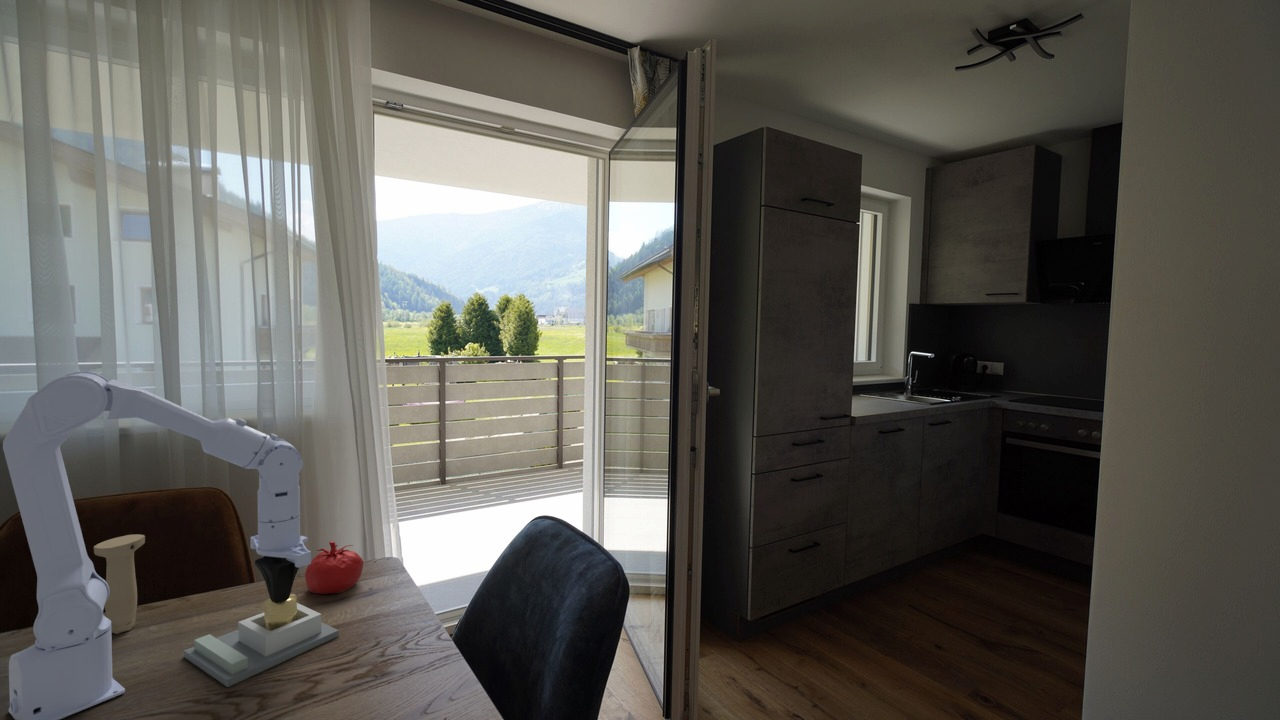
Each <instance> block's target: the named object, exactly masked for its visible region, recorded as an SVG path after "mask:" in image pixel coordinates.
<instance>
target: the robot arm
mask: <svg viewBox="0 0 1280 720" xmlns="http://www.w3.org/2000/svg"><path fill="white" fill-rule="evenodd" d="M104 412H108V415H107V420H118V419H119V420H121V419H134V418H136V419H141V420H144V421H146V422H149V423H152V424H155V425H157V426H159V427H162V428H165V429H167V430H171V431H174V432H177V433H179V434H182V435H185V436H187V437H190V438H192V439H194V440H197V441H199V442H200V444H201V445H200V446H201V448H202V451H203V452H204V453H206V454H208V455H211V456H212V457H213V456H214V457H216V458H218V459H221V460H223V461H226V462H227V463H231V464H234V465H236V466H237V467H238V466H239V467H241V468H244V469H246V470H251V469H252V470H253V469H254V470H255V469H256V470H257V471H258V473H259V474H258V490H257V494H256V495H257V535H254V536H253V535H252V536H250V544H249V545H250V549H251V550H255V552H256V554H258V555H260V556H262V557H260V558H257V559H255V561H254V565H255V566H256V567H257V569H258V571H260V573H261V576H262V577H263V580H264V582H265V585H266V589H267V592H268V596H269V598H270V599H271V601H272V602H274V603H278V602H281V601H284V600H286V599H289V597H290V594H292V593H291V592H292V590H293V589H292V588H293V585H294V582H295V579H296V575H297V574H298V571H299V569H300V568H302V567H305V566H308V565H309V564H311V561H312V551H311V550H308V548H307V547H306V546H305V543H308V537H307V536H306V535H305V536H304V535H301V487H300V485H299V481H300V475H299V474H300V473H301V471H302V469H303V466H304V460H302V455H301V453H300V452H299V451H298V449H296V447H295V446H294V445H292V444H291V443H290V442H288V441H286V439H284V438H278V437H279V436H278V435H277V434H275V433H272V432H271V433H270V434H266V433H264V432H262V431H259V430H258V429H256V428H253V427H252V426H251V427H250V426H248V425H247V424H248V422H247V421H246V420H245V419H243V418H240V417H237V418H236V419H235V420H234V419H233V418H230V417H226V418H221V419H217V420H211V419H209V418H207V417H204V416H203V415H200V414H198V413H196V412H194V411H191V410H189V409H188V408H185V407H183V406H181V405H179V404H177V403H174V402H172V401H171V400H168V399H166V398H163V397H162V396H159V395H157V394H155V393H153V392H151V391H148V390H146V389H144V388H141V387H139V386H138V387H137V386H135V385H133V384H129V383H126V382H124V381H122V380H121V381H119V380H117V379H111V380H108V378H106V376H104V375H102V374H99V373H96V372H92V371H76V372H72V373H68V374H66V375H64V376H61V377H57V378H55V379H52V380H51V381H49V382H48V383H47V384H45V385H44V386H42V387H41V388H40V389H39V390H37V391H36V392H35V393H34V394H32V395H31V396H29V397H28V399H27V401H26V403H25V406H24V407H23V408H22V410H21V412H20V413H19V416H18V417H17V419H16V420H15V421H14V423H13V424H12V426H11V428H10V430H9V431H8V433H7V434H6V436H5V437H4V439H3V441H2V450H3V453H4V458H5V460H6V461H5V462H6V464H7V469H8V472H9V476H10V479H11V480H10V481H11V483H12V487H13V491H14V495H15V498H16V502H17V506H18V509H19V512H20V516H21V519H22V524H23V527H24V532H25V536H26V538H27V543H28V547H29V550H30V553H31V558H32V562H33V565H34V568H35V572H36V577H37V580H36V581H37V582H36V601H37V606H38V613H37V615H36V618H35V620H34V623H33V627H32V628H33V629H32V630H33V634H34V636H35V642H34V644H32V645H30V646H28V647H27V648H25V649H22V650H20V651H18V652H16V653H13V654H11V655H10V657H9V661H8V682H9V683H8V687H9V688H8V689H9V708H8V712H9V714H10V716H12V718H13V719H14V720H62V719H65V718H66V717H69V716H71V715H74V714H76V713H79V712H81V711H83V710H86V709H88V708H92V707H93V706H96V705H98V704H101V703H103V702H106V701H108V700H110V699H113V698H115V697H117V696H120V695H122V694H124V693H125V692H126V688H125V687H123V686H122V685H121V684H120V683H119V682H118V681H116V680H115V678H114V677H113V651H112V650H113V646H112V645H113V644H112V643H113V640H112V633H111V620H109V619H108V618H106V615H105V614H104V610H105V603H106V601H107V600H108V597H109V586H108V584H107V582H106V579H104V578H102V577H101V576H100V575H99V574H98V573H97V572H96V570H95V566H94V563H93V561H92V559H90V557H89V555H88V552H87V549H86V544H85V541H84V537H83V533H82V528H81V524H80V522H79V517H78V513H77V510H76V506H75V502H74V498H73V493H72V490H71V485H70V483H69V478H68V477H69V476H68V474H67V470H66V467H65V466H66V465H65V462H64V459H63V455H62V451H61V447H62V446H61V445H62V444H63V443H64V442H65V441H66V440H67V439H68V438H69V437H70V436H71V435H72V434H73V433H74V432H75V431H76V430H77V429H79V428H81V427H82V426H84V425H87V424H88V423H90V422H91V421H94V420H95V419H96V418H98V417H99V416H101V415H102V414H103V413H104Z"/></svg>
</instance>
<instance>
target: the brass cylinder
mask: <svg viewBox="0 0 1280 720" xmlns="http://www.w3.org/2000/svg"><path fill="white" fill-rule="evenodd" d="M297 597H298V596H297V595H296V594H295V593H290V597H289V599H286V600H284V601H281V602H278V603H274V602H272V601H271V599H270V597H269V598H267V599H266V600H264V603H263V607H264V609H263V612H264V628H265V629H266V630H268V631H272V630H275V629H277V628H280V627H282V626H284V625H287V624H289V623H292V622H294V621H297V603H298V600H297V599H298V598H297Z"/></svg>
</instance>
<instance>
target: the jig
mask: <svg viewBox="0 0 1280 720" xmlns="http://www.w3.org/2000/svg"><path fill="white" fill-rule="evenodd" d="M237 626H238V627H237V628H238V629H236V630H234V631H233V630H232V631H230V632H228V633H225V634H223V635H220V636H218V637H215V636H214V635H212V634H210V633H209V634H206V635H203V636H201V637H198V638H196V639H194V640H193V641H194V644H193V645H194V646H192V647H190V648H186V649H184V650H183V658H185V659H186V660H187V661H189V662H191V663H192V664H193V665H195V666H197V668H199V669H200V670H202V671H203V672H205V673H206V674H208V675H209V676H211V677H212V678H214V679H216V680H217V681H218V682H219V683H221V685H224V686H225V687H227V688H229V687H232V686H234V685H236V684H238V683H240V682H242V681H245V680H246V679H249V678H251V677H253V676H255V675H257V674H260V673H261V672H264V671H266V670H268V669H270V668H272V667H275V666H277V665H279V664H282V663H283V662H286V661H288V660H290V659H292V658H294V657H297V656H299V655H300V654H303V653H305V652H308V651H310V650H311V649H314V648H316V647H318V646H321V645H323V644H325V643H326V642H329V641H331V640H333V639H337V638H338V637H339V630H338V629H336V628H334V627H332V626H331V625H329V624H327V623H324V622H322V613H320V612H318V611H315V610H313V609H311V608H309V607H307V606H305V605H303V604H300V603H299V602H297V621H294V622H292V623H289V624H287V625H284V626H282V627H280V628H277V629H275V630H272V631H268V630H266V629H265V628H264V611H263V612H261V613H259V614H256V615H253V616H251V617H247V618H246V619H242V620H240V621H238V622H237Z"/></svg>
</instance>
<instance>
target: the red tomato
mask: <svg viewBox="0 0 1280 720" xmlns="http://www.w3.org/2000/svg"><path fill="white" fill-rule="evenodd" d="M328 544H329V547H330V550H328V549H327V548H320V549H318V548H316V551H318V552H320V553H318V554H317V555H316V556H315V557H314V558H313V559H311V564H308V565H306V566H307V567H306V569H305V572H304V579H305V583H306V587H307V589H308V590H309V591H310V592H311V593H314V594H318V595H321V594H324V595H326V594H327V595H328V594H337V593H343V592H345V591H346V590H348V589H350V588H352V587H353V586H354V585H356V583H357V582H358V581H359V579H360V578H361V575H362V572H363V568H364V560H363V558H362V557H361V556H360V555H359V554H358V553H357V552H355V551H352V550H350V549H345V548H348V547H353V546H355V545H354V544H352V545H351V544H349V545H345V546H342V547H341V548H339V549H338V544H336V542H335V541H333V540H331V541H329V542H328ZM321 551H322V552H321Z"/></svg>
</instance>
